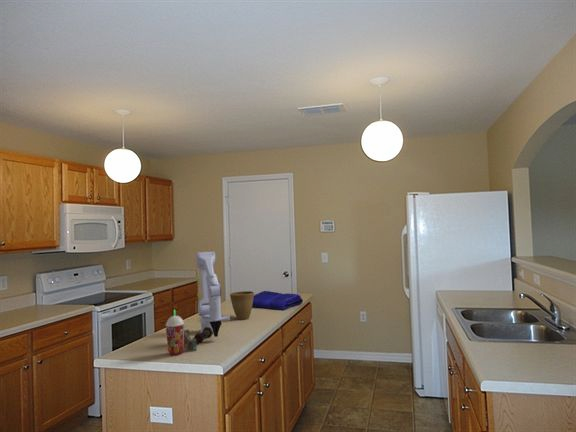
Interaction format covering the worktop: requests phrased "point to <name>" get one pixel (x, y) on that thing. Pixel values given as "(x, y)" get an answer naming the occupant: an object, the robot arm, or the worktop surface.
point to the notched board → (189, 341)
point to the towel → (276, 300)
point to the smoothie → (175, 335)
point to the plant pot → (242, 304)
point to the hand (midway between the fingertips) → (215, 336)
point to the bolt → (203, 334)
